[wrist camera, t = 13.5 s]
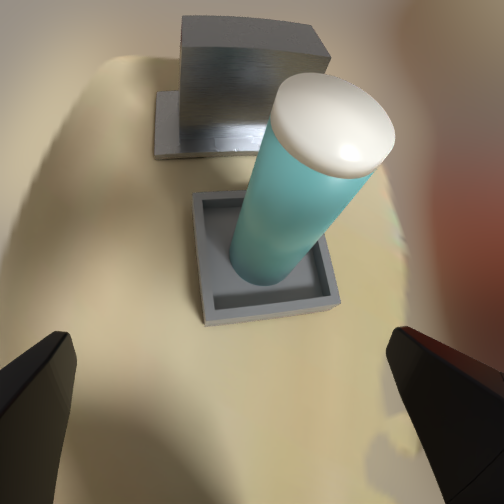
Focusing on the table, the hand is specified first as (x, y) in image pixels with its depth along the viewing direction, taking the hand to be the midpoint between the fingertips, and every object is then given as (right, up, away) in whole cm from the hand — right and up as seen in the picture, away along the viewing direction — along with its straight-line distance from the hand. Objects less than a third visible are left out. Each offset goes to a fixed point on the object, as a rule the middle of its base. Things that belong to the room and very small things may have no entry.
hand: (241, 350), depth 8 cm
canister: (+1, +2, +14) cm, 14 cm away
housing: (-1, +14, +19) cm, 24 cm away
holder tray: (+1, +2, +15) cm, 15 cm away
